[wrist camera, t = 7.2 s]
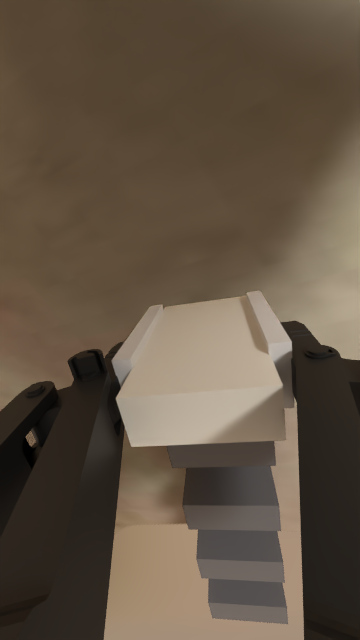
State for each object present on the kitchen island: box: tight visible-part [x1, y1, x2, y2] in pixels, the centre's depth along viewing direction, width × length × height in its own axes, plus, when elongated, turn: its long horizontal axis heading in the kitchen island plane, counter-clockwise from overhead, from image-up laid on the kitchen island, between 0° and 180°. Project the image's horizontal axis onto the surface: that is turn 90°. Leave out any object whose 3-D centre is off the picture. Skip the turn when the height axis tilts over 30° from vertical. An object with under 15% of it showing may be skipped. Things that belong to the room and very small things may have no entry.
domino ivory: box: [116, 296, 286, 447], centre depth 12 cm, size 2×5×9 cm, turn 100°
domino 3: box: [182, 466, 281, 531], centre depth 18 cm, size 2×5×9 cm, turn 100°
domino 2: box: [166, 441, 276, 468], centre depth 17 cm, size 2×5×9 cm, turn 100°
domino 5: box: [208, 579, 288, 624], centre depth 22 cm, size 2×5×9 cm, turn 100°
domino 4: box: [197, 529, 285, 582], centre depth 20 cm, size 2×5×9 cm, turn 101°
